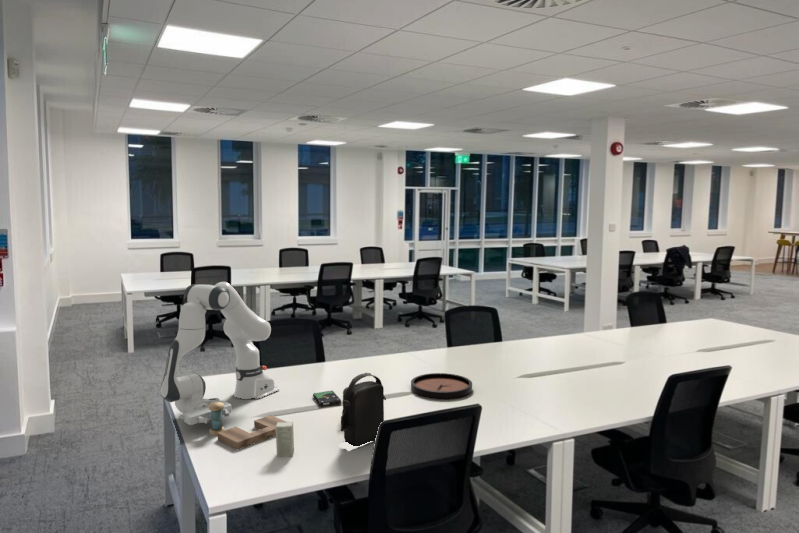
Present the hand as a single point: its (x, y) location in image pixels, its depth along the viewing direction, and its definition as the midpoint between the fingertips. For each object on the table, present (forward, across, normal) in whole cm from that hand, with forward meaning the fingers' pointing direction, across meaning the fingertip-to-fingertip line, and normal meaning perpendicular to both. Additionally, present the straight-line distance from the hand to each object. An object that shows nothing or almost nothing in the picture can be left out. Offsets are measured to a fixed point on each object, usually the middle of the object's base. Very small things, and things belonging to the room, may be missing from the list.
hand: (217, 417), depth 244 cm
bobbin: (-1, 0, +7) cm, 7 cm away
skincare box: (+37, +6, +7) cm, 38 cm away
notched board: (+13, +9, +6) cm, 17 cm away
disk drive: (+4, +56, +7) cm, 57 cm away
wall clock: (+35, +107, +7) cm, 113 cm away
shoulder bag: (+50, +35, +7) cm, 61 cm away
